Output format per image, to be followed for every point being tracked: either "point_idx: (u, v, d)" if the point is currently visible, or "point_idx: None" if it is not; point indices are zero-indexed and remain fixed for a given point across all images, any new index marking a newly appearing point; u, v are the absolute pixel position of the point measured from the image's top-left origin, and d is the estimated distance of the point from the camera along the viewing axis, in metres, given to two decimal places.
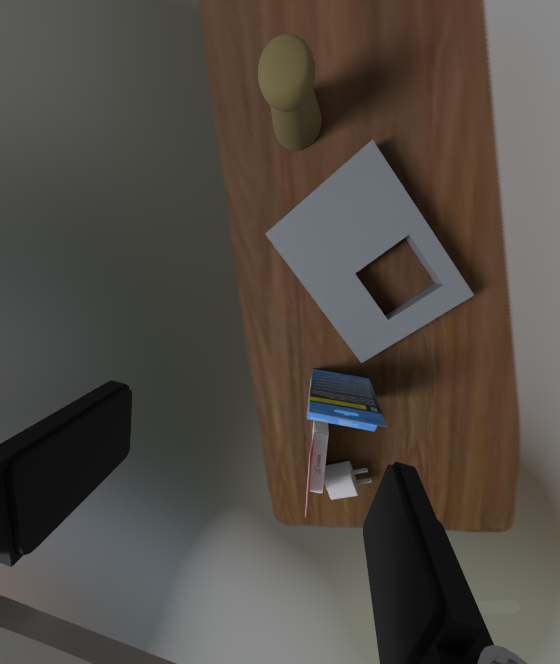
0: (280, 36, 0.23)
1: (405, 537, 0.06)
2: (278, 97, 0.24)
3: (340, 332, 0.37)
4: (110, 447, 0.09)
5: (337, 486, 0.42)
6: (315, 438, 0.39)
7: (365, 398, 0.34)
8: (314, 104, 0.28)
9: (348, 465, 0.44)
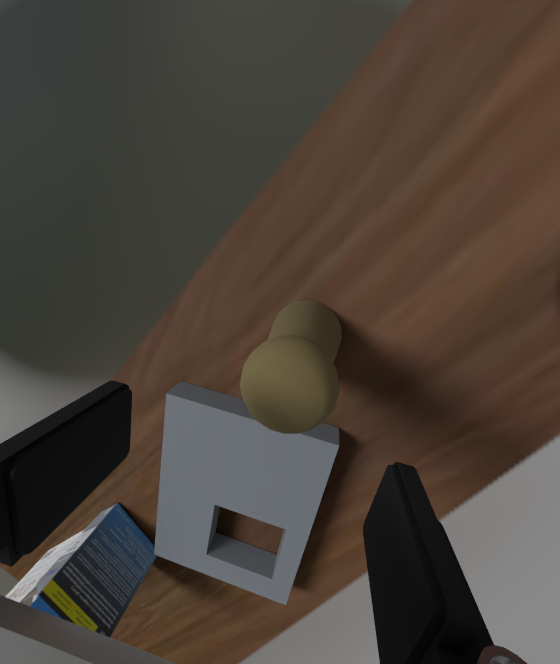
0: (313, 370, 0.12)
1: (405, 537, 0.06)
2: (247, 407, 0.14)
3: (158, 522, 0.30)
4: (110, 447, 0.09)
5: None
6: None
7: (113, 605, 0.28)
8: None
9: None
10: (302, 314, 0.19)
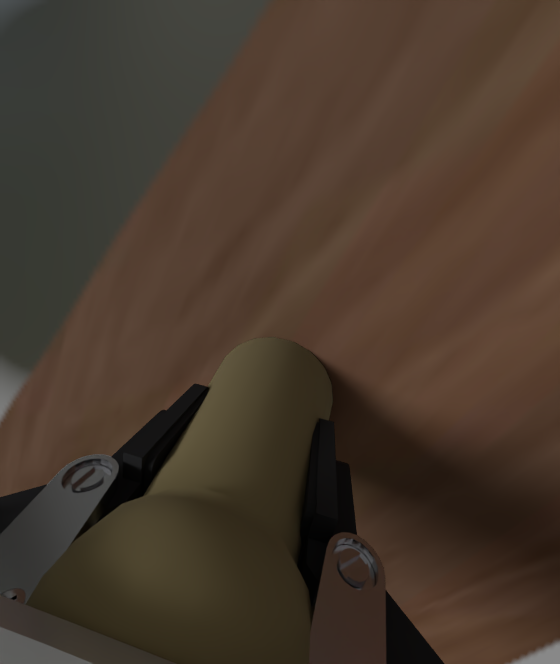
0: None
1: None
2: None
3: None
4: None
5: None
6: None
7: None
8: None
9: None
10: (251, 381, 0.09)
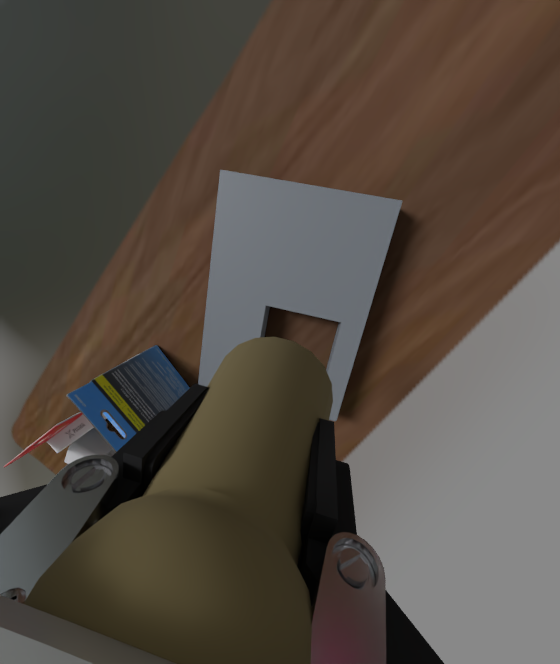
0: None
1: None
2: None
3: (204, 341, 0.29)
4: None
5: (79, 457, 0.35)
6: None
7: None
8: None
9: None
10: (251, 381, 0.09)
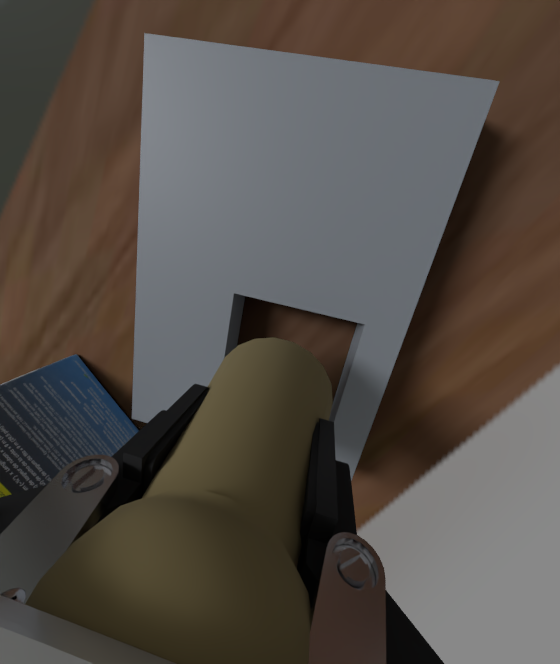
0: None
1: None
2: None
3: (136, 352, 0.18)
4: None
5: None
6: None
7: None
8: None
9: None
10: (251, 382, 0.09)
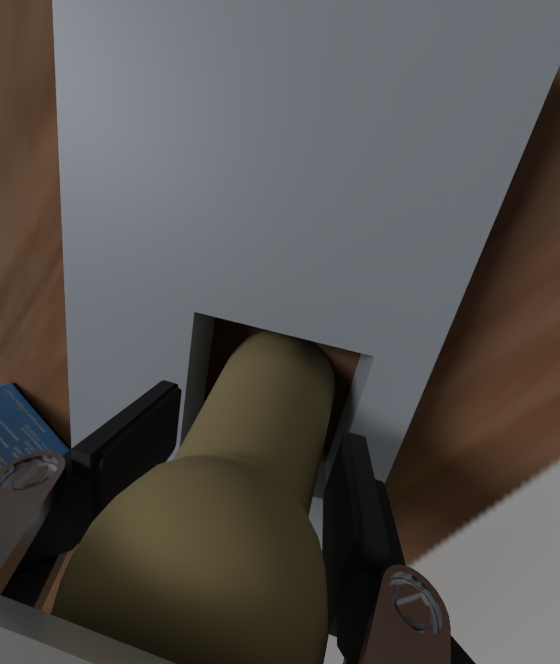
0: (240, 650, 0.04)
1: (345, 490, 0.07)
2: None
3: (72, 386, 0.13)
4: (163, 442, 0.10)
5: None
6: None
7: None
8: None
9: None
10: (262, 368, 0.10)
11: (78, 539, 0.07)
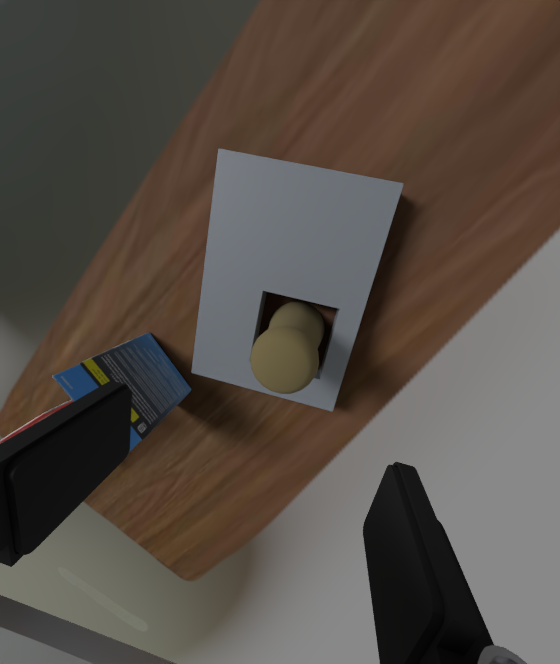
0: (301, 347, 0.18)
1: (405, 537, 0.06)
2: (254, 375, 0.20)
3: (198, 328, 0.28)
4: (110, 447, 0.09)
5: None
6: None
7: (152, 408, 0.27)
8: None
9: None
10: (293, 312, 0.25)
11: None
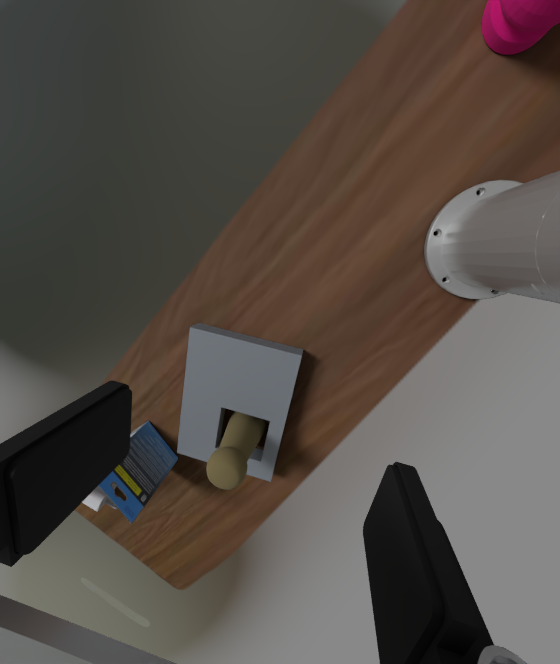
0: (232, 467, 0.32)
1: (405, 537, 0.06)
2: None
3: (180, 426, 0.42)
4: (110, 447, 0.09)
5: (88, 496, 0.48)
6: None
7: (150, 481, 0.41)
8: None
9: (112, 487, 0.50)
10: (239, 424, 0.39)
11: None
